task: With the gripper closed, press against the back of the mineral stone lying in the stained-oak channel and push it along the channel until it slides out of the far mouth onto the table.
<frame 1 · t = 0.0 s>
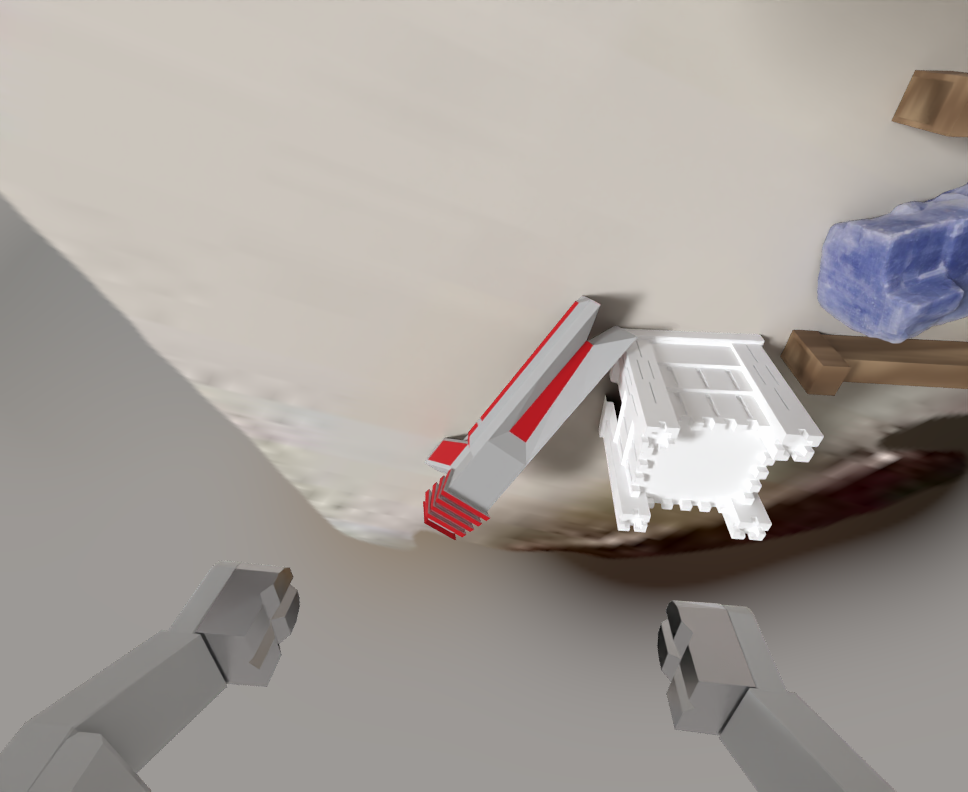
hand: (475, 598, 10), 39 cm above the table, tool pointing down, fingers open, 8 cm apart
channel: (955, 244, 41), on the table
mineral: (903, 240, 42), on the table
toy gun: (509, 388, 56), on the table
castle model: (671, 384, 53), on the table
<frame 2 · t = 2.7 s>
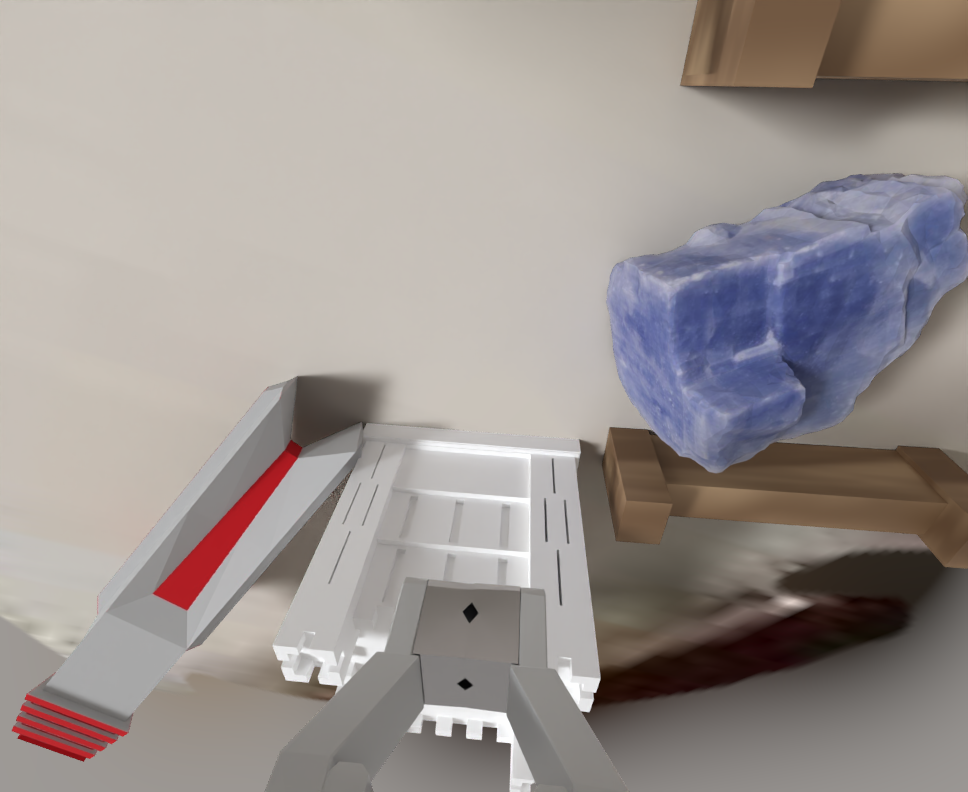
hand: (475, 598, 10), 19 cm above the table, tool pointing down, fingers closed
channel: (833, 299, 25), on the table
mineral: (738, 289, 25), on the table
toy gun: (239, 499, 38), on the table, touching castle model
castle model: (470, 503, 36), on the table, touching toy gun
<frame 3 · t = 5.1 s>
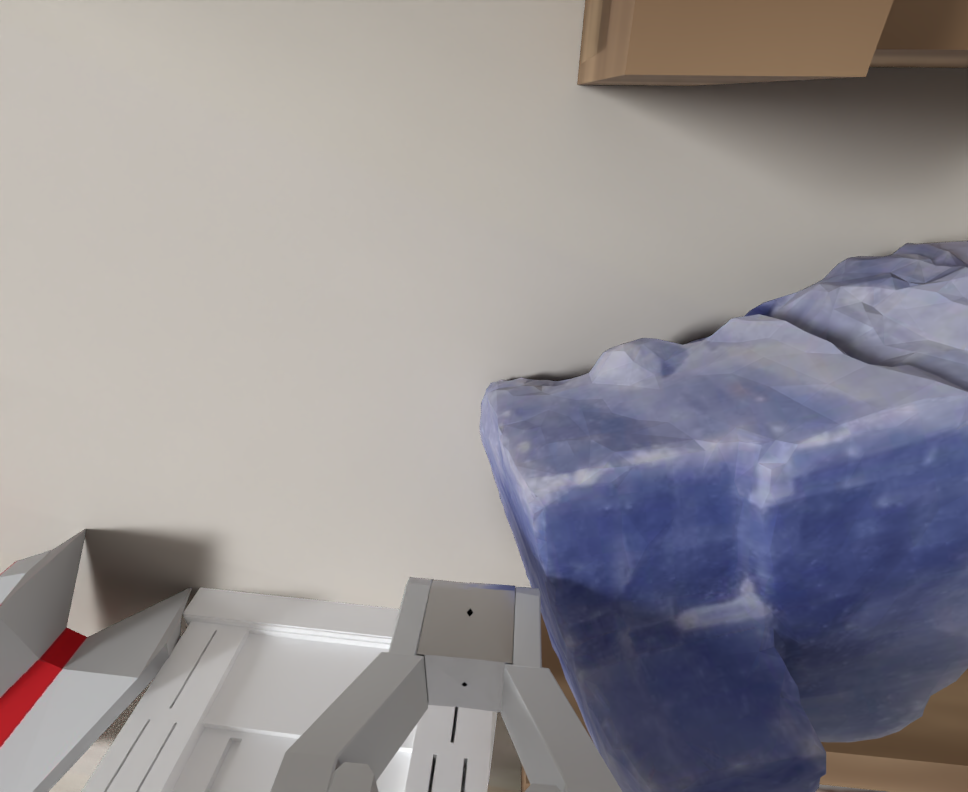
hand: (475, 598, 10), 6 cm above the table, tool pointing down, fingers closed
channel: (871, 444, 15), on the table
mineral: (703, 419, 15), on the table, touching gripper
toy gun: (49, 655, 27), on the table
castle model: (366, 678, 26), on the table
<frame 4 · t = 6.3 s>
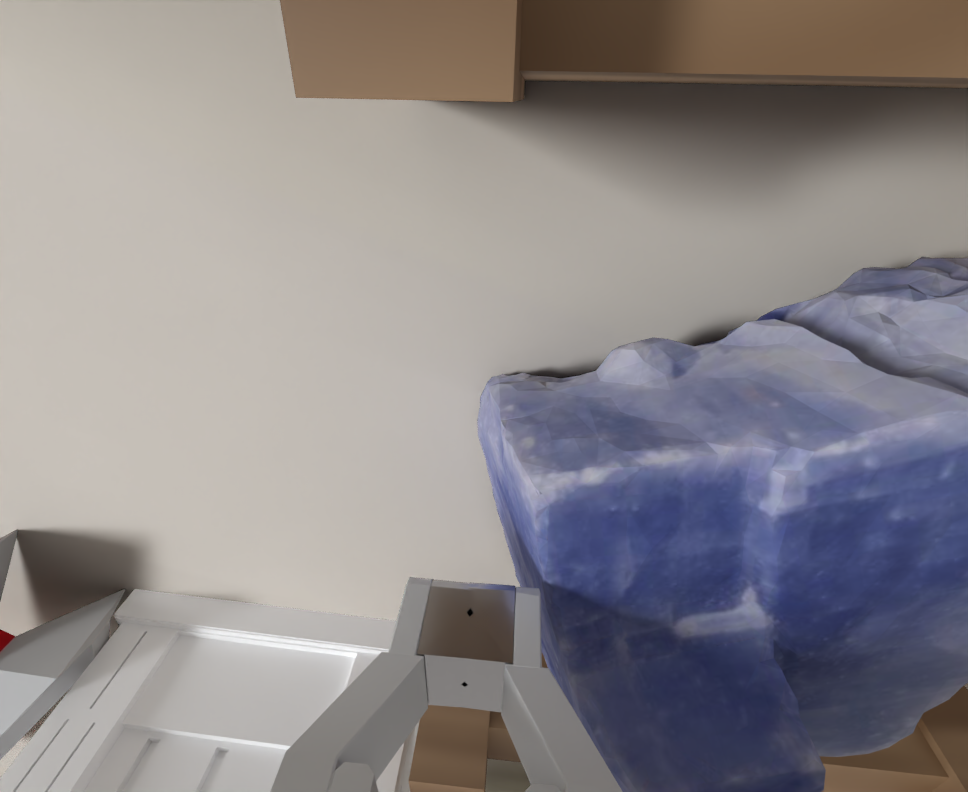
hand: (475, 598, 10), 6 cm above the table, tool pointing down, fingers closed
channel: (749, 449, 15), on the table
mineral: (703, 425, 15), on the table, touching gripper
castle model: (306, 680, 26), on the table, touching toy gun
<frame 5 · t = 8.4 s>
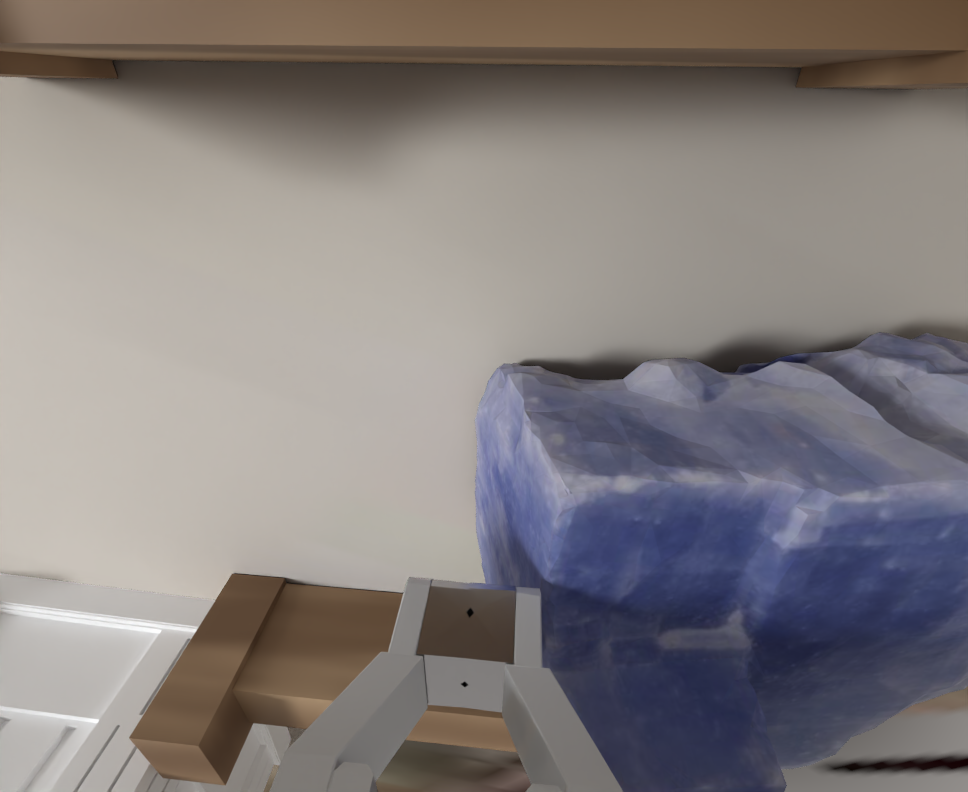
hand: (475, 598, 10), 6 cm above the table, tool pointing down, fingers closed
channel: (450, 418, 15), on the table
mineral: (688, 448, 15), on the table, touching gripper
castle model: (150, 660, 27), on the table
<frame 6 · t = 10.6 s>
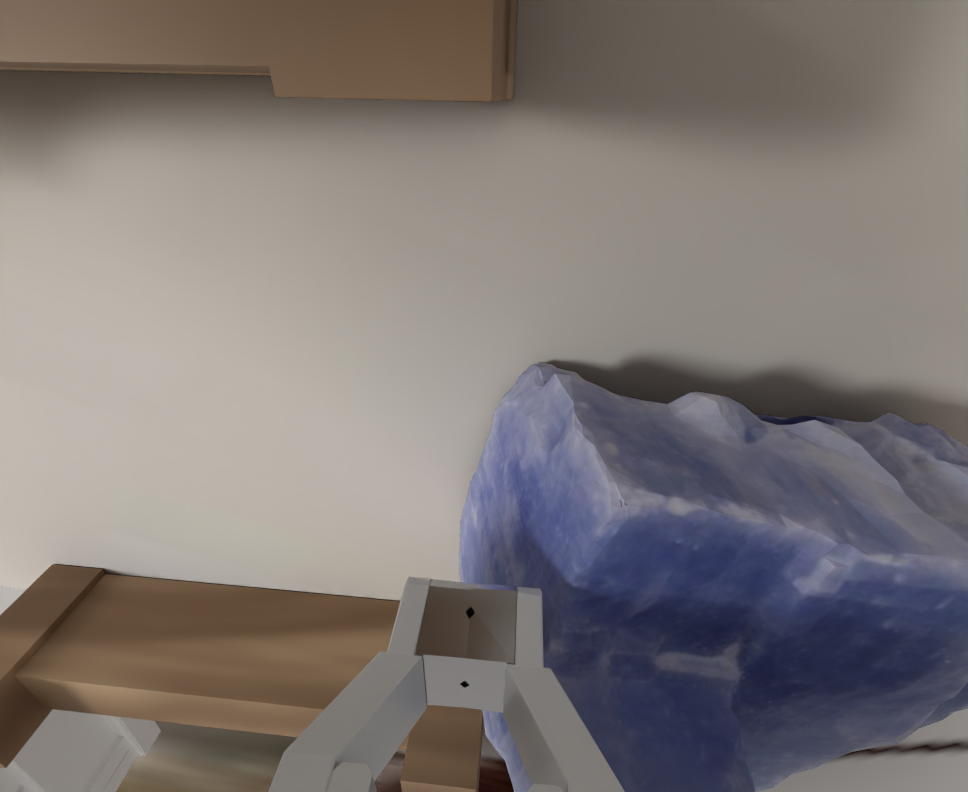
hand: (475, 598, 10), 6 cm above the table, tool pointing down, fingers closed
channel: (203, 412, 16), on the table
mineral: (681, 481, 16), on the table, touching gripper
castle model: (8, 651, 27), on the table
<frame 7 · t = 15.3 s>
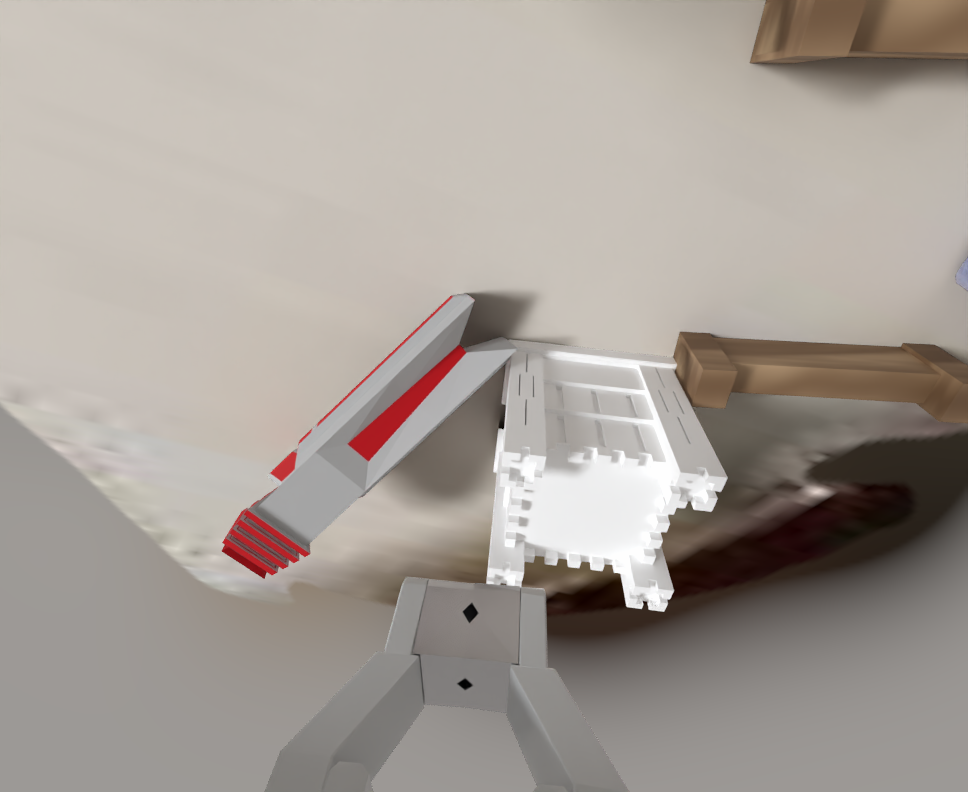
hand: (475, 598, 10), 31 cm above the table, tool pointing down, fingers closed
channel: (853, 221, 34), on the table
toy gun: (376, 398, 46), on the table
castle model: (575, 413, 45), on the table
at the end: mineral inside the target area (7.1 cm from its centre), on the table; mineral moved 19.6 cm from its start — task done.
